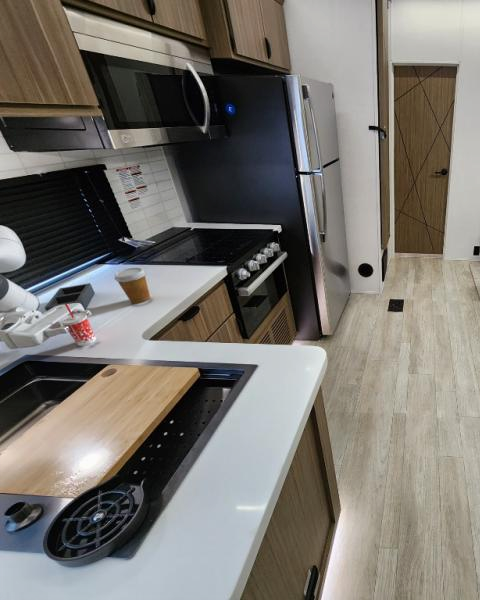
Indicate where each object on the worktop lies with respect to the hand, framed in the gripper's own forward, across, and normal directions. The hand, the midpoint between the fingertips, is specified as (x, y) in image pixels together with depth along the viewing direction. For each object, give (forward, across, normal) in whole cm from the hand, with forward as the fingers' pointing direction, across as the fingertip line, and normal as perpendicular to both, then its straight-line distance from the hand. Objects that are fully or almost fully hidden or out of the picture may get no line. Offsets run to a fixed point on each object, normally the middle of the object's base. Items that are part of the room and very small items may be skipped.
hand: (78, 321), depth 103 cm
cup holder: (-22, -28, -8) cm, 36 cm away
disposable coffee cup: (+1, -28, -8) cm, 29 cm away
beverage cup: (-1, 0, -8) cm, 8 cm away
